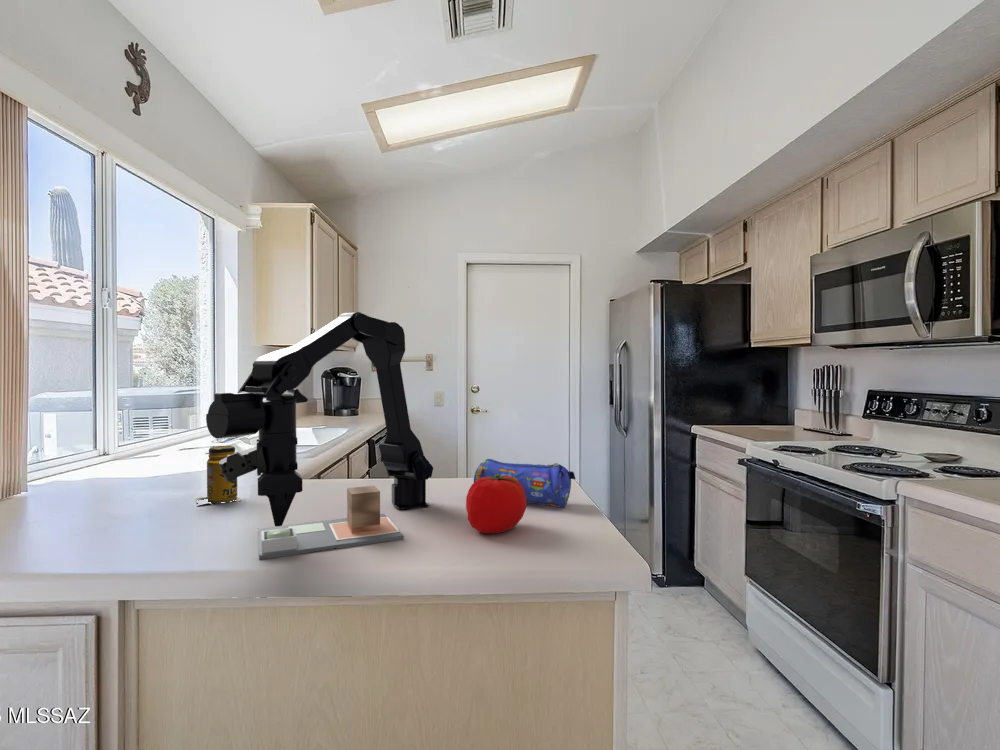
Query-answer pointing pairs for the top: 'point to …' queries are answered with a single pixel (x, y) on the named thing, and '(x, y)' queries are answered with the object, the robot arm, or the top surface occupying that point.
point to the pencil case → (533, 480)
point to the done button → (278, 533)
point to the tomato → (495, 504)
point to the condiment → (219, 477)
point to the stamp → (363, 509)
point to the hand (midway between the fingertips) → (278, 525)
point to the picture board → (322, 537)
